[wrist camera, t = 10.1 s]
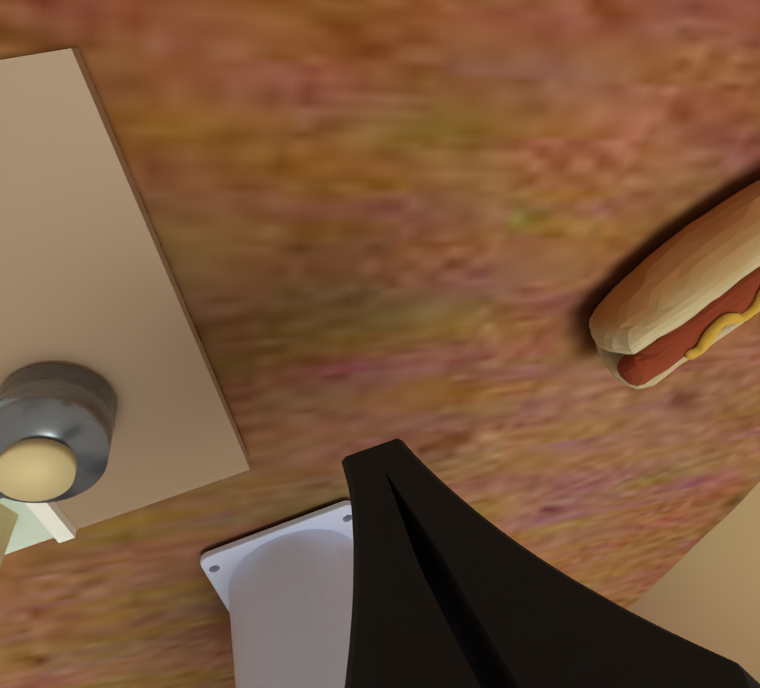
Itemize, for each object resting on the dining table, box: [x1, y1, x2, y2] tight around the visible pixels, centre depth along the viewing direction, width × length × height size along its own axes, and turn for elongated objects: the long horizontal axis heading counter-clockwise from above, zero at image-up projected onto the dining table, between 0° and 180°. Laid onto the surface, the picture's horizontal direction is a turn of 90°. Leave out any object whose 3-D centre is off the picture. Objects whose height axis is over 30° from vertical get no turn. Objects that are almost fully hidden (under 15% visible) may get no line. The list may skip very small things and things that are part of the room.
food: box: [589, 180, 760, 389], centre depth 23 cm, size 14×6×5 cm, turn 123°
